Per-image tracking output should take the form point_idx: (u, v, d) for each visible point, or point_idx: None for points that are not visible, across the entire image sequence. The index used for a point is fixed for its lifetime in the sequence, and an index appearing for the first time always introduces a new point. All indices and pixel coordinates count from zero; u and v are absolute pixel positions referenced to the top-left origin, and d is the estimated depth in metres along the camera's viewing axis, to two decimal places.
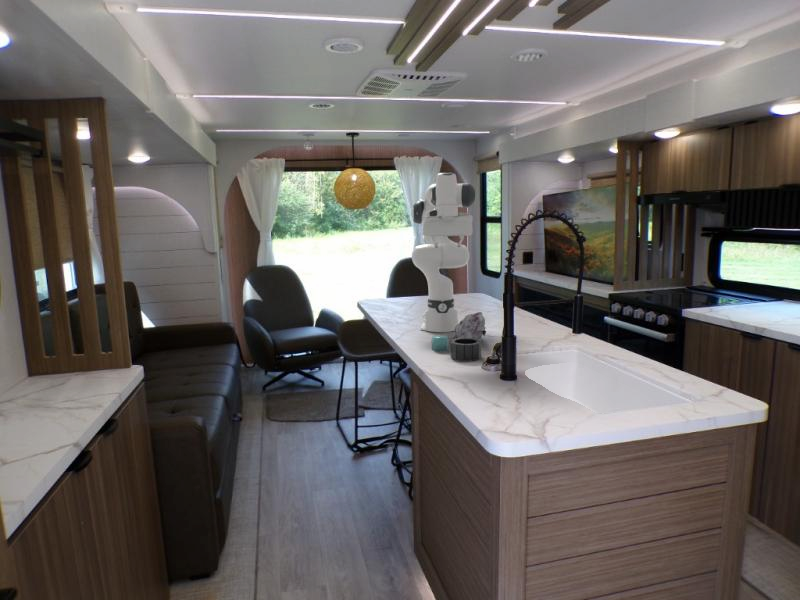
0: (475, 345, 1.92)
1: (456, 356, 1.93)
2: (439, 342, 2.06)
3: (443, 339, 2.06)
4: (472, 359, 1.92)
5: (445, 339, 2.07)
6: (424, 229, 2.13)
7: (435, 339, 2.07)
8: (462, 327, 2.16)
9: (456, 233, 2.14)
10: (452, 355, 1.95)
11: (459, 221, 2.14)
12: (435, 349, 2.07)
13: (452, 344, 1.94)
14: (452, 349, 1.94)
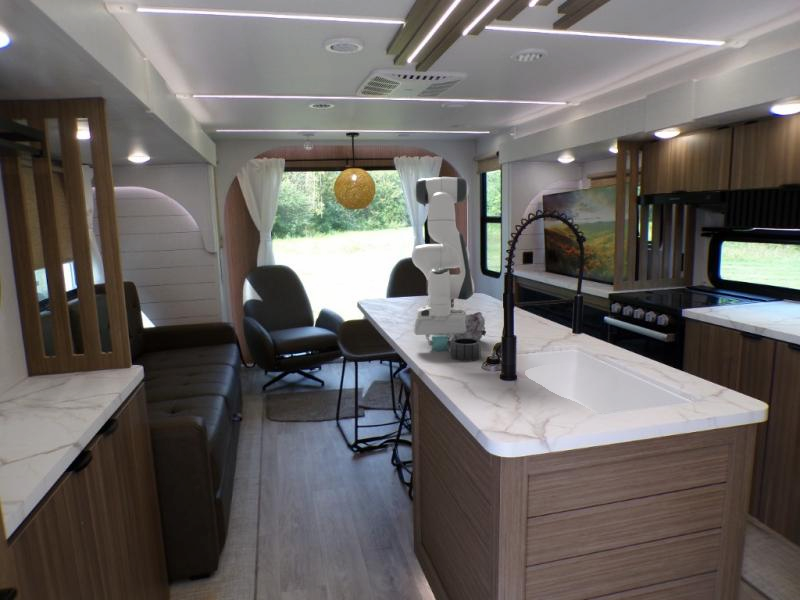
0: (475, 345, 1.92)
1: (456, 356, 1.93)
2: (439, 342, 2.06)
3: (443, 339, 2.06)
4: (472, 359, 1.92)
5: (445, 339, 2.07)
6: (415, 328, 2.06)
7: (435, 339, 2.07)
8: None
9: (449, 332, 2.07)
10: (452, 355, 1.95)
11: (452, 319, 2.06)
12: (435, 349, 2.07)
13: (452, 344, 1.94)
14: (452, 349, 1.94)
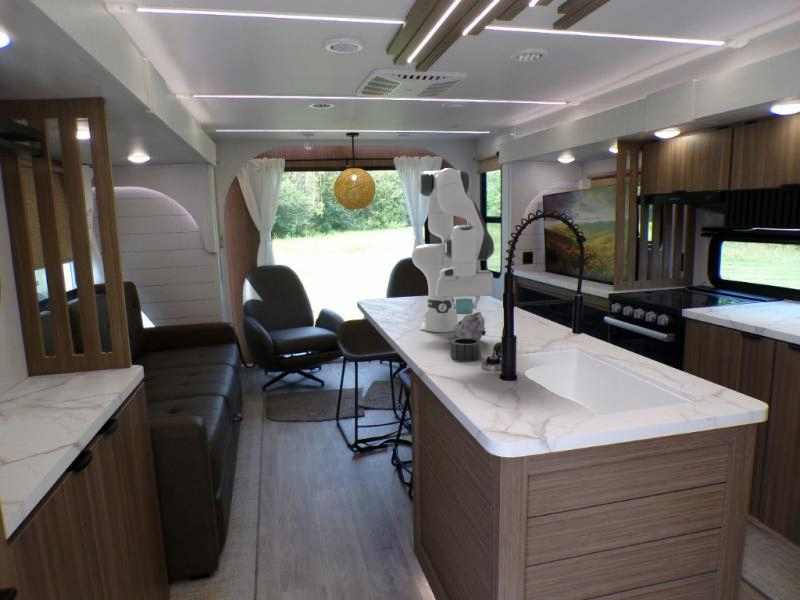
0: (475, 345, 1.92)
1: (456, 356, 1.93)
2: (464, 304, 1.91)
3: (468, 301, 1.91)
4: (472, 359, 1.92)
5: (470, 301, 1.92)
6: (438, 290, 1.91)
7: (459, 301, 1.92)
8: (461, 327, 2.16)
9: (474, 294, 1.92)
10: (452, 355, 1.95)
11: (478, 280, 1.91)
12: (459, 312, 1.92)
13: (452, 344, 1.94)
14: (452, 349, 1.94)
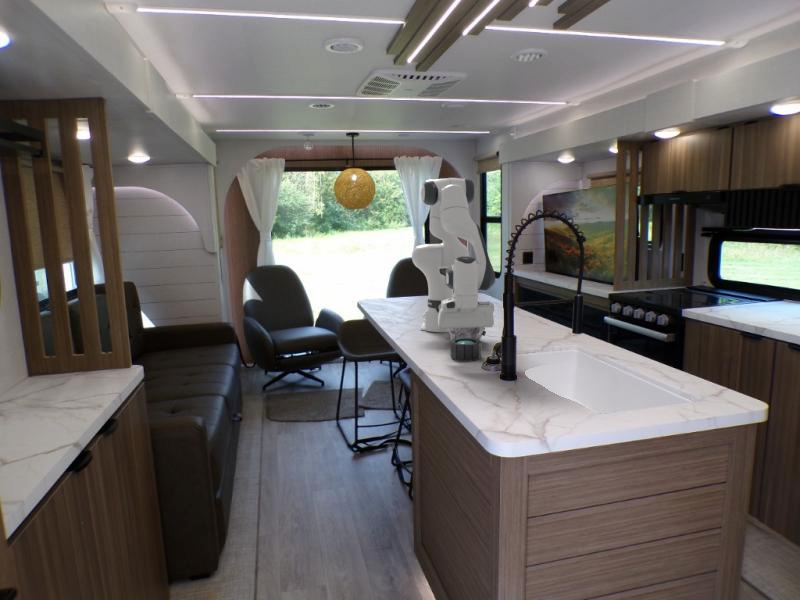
0: (475, 345, 1.92)
1: (456, 356, 1.93)
2: None
3: None
4: (472, 359, 1.92)
5: None
6: (440, 321, 1.92)
7: None
8: None
9: (475, 325, 1.94)
10: (452, 355, 1.95)
11: (479, 312, 1.93)
12: None
13: (452, 344, 1.94)
14: (452, 349, 1.94)
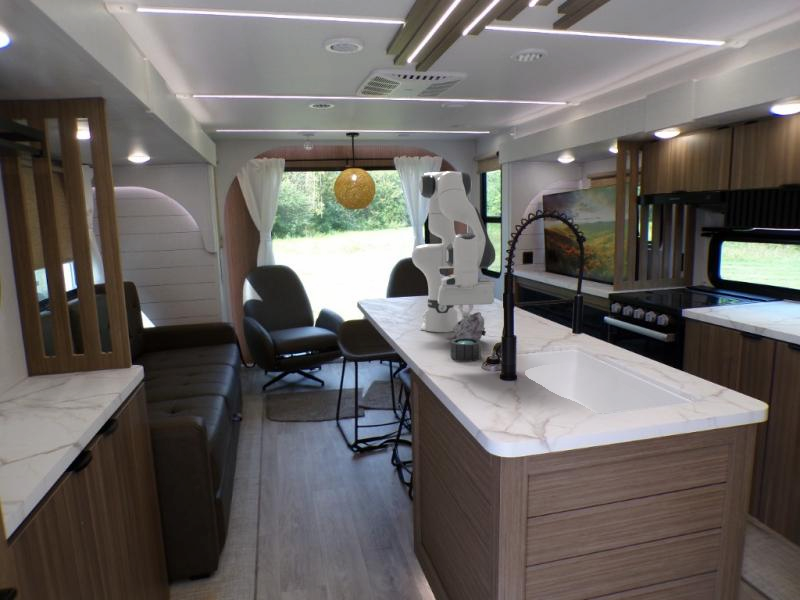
0: (475, 345, 1.92)
1: (456, 356, 1.93)
2: None
3: None
4: (472, 359, 1.92)
5: None
6: (440, 298, 1.91)
7: None
8: (461, 327, 2.16)
9: (476, 302, 1.92)
10: (452, 355, 1.95)
11: (480, 289, 1.91)
12: None
13: (452, 344, 1.94)
14: (452, 349, 1.94)
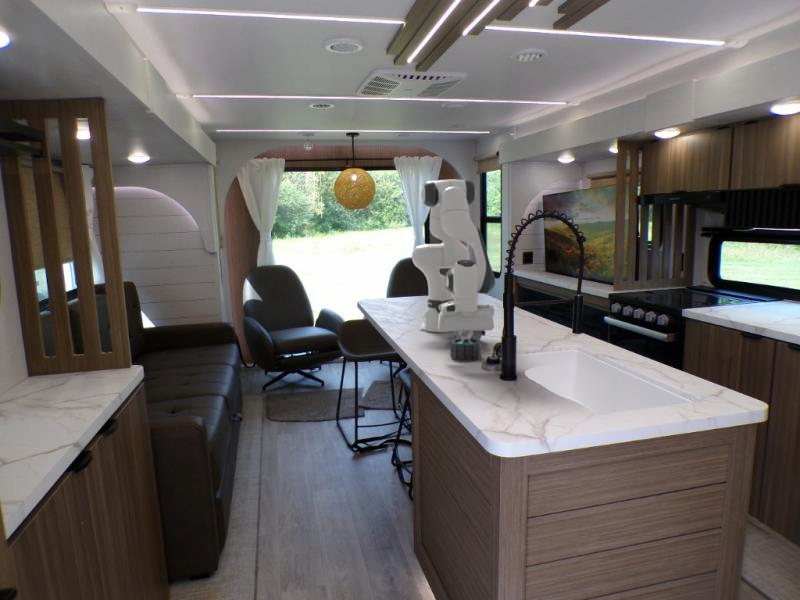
0: (475, 345, 1.92)
1: (456, 356, 1.93)
2: None
3: None
4: (472, 359, 1.92)
5: None
6: (440, 325, 1.93)
7: None
8: None
9: (475, 328, 1.94)
10: (452, 355, 1.95)
11: (479, 315, 1.93)
12: None
13: (452, 344, 1.94)
14: (452, 349, 1.94)
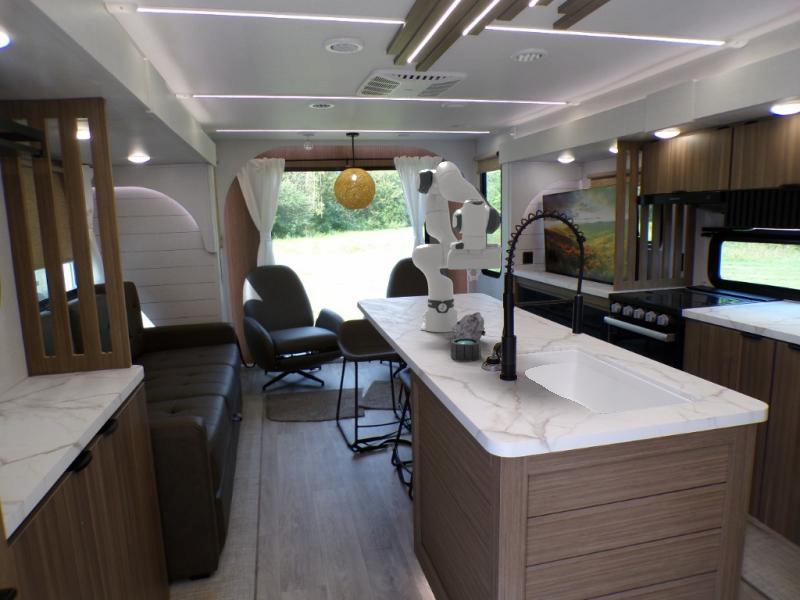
0: (475, 345, 1.92)
1: (456, 356, 1.93)
2: None
3: None
4: (472, 359, 1.92)
5: None
6: (449, 262, 1.98)
7: None
8: (461, 328, 2.15)
9: (483, 267, 1.99)
10: (452, 355, 1.95)
11: (487, 253, 1.98)
12: None
13: (452, 344, 1.94)
14: (452, 349, 1.94)
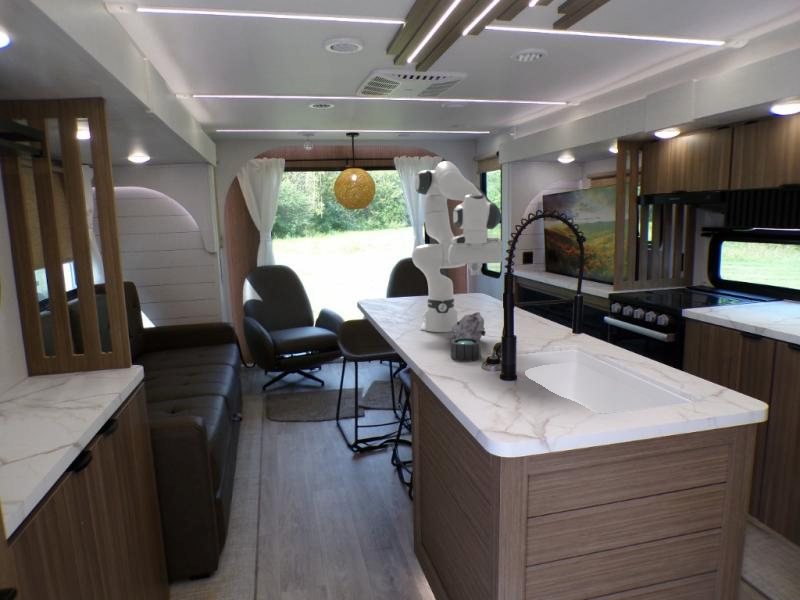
0: (475, 345, 1.92)
1: (456, 356, 1.93)
2: None
3: None
4: (472, 359, 1.92)
5: None
6: (450, 257, 1.98)
7: None
8: (461, 328, 2.15)
9: (485, 261, 1.99)
10: (452, 355, 1.95)
11: (488, 247, 1.98)
12: None
13: (452, 344, 1.94)
14: (452, 349, 1.94)
